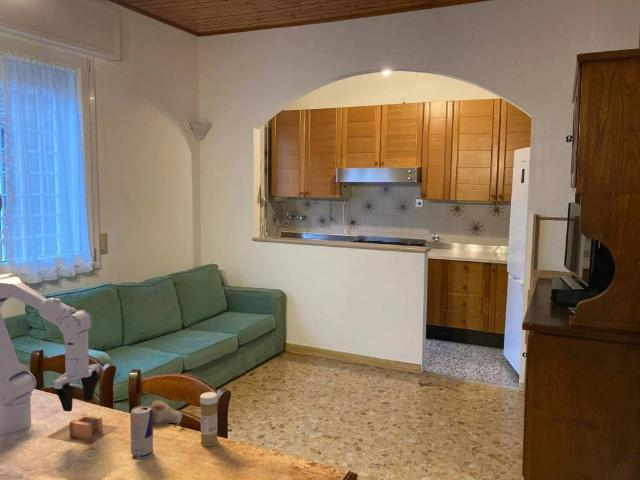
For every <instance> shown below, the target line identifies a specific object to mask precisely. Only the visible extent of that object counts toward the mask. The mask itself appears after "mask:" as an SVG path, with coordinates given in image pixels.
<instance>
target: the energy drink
mask: <svg viewBox="0 0 640 480" xmlns="http://www.w3.org/2000/svg"><path fill="white" fill-rule="evenodd" d="M150 406H151V405H138V406H135V407H133V408H132V409H131V410H130V413H129V415H130V453H131V454H133V456H131V458H132V459H133V460H138V461H139V460H140V461H141V460H146V459H149V458H150V457H151V456H152V455H153V454H154V424H153V411H152V408H151V407H150Z"/></svg>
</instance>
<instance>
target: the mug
mask: <svg viewBox="0 0 640 480" xmlns="http://www.w3.org/2000/svg"><path fill="white" fill-rule="evenodd" d="M149 406H150V407H151V408H152V411H153V425H155V424H156V425H157V424H165V423H169V424H172V423H174V427H177V426H179V425H180V424H181V421H182V420H183V414H182V412H181V411H177V410H175V409H173V408H172V407H170V406H169V405H168V404H167V403H166V402H164V401H163V400H161V399H160V400H159V399H154V400H153V401H152V403H151V405H149Z"/></svg>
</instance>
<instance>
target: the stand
mask: <svg viewBox="0 0 640 480" xmlns="http://www.w3.org/2000/svg"><path fill="white" fill-rule="evenodd" d="M88 423H91V433H92V436H91V437H90V438H88V439H87V438H82V437H77V436H71V435H70V428H69V424H67V425H66V426H64V427H62V428H60V429H59V430H57V431H55V432H53V433H51V434H50V435H47V436H46V438H48V439H53V440H54V439H55V440H60V441H65V442H69V443H77V444H80V445H81V444H82V445H87V446H91V445H93V444H94V443H95V442H97V441H99V440H100V439H102V438H104V437H105V436H107V435H108V434H110V433H111V432H114V431H115V430H117V429H118V428H119V427H118V426H113V425H107V424H103V423H102V430H101V431H100V432H97V431H93V418H89V419H88Z"/></svg>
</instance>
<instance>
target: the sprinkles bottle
mask: <svg viewBox="0 0 640 480" xmlns="http://www.w3.org/2000/svg"><path fill="white" fill-rule="evenodd" d="M199 397H200V398H199V403H200V445H201V446H204V447H213V446H215V445H217V443H218V440H219V439H218V402H219V401H218V400H219V399H218V397H219V396H218V394H217V393H216V392H214V391H213V392H212V391H208V392H203V393H202V394H201V395H200V396H199Z"/></svg>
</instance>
